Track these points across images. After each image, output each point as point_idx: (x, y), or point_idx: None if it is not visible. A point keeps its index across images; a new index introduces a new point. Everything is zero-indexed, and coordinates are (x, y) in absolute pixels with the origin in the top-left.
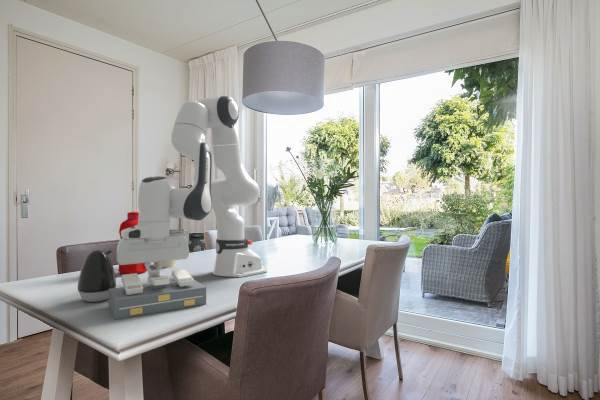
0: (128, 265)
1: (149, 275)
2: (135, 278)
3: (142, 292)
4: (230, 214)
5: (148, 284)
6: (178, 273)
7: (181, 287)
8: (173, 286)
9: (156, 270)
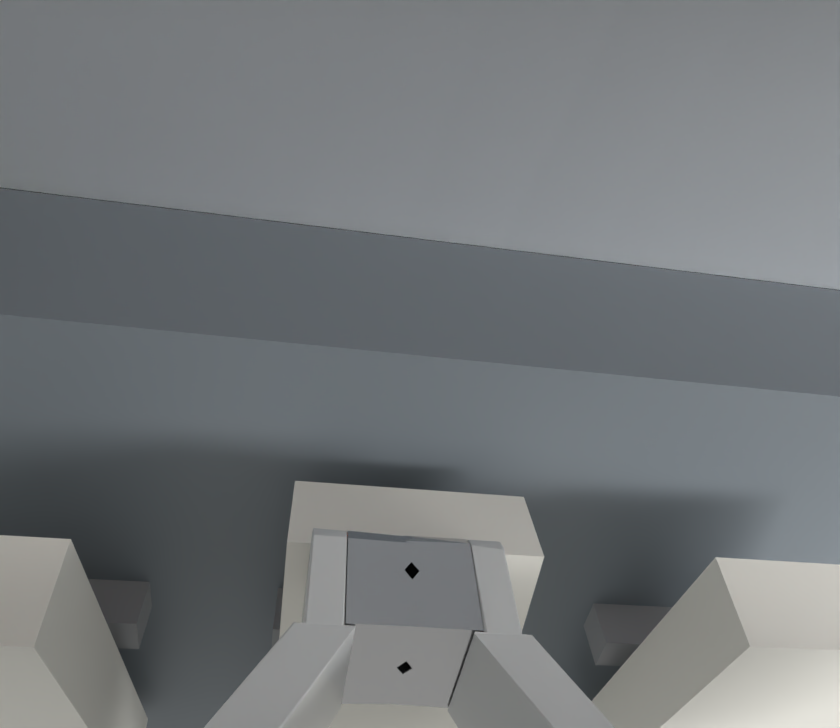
0: None
1: (302, 617)
2: (19, 714)
3: (143, 724)
4: None
5: (333, 385)
6: (732, 716)
7: (591, 691)
8: (553, 630)
9: (450, 679)
